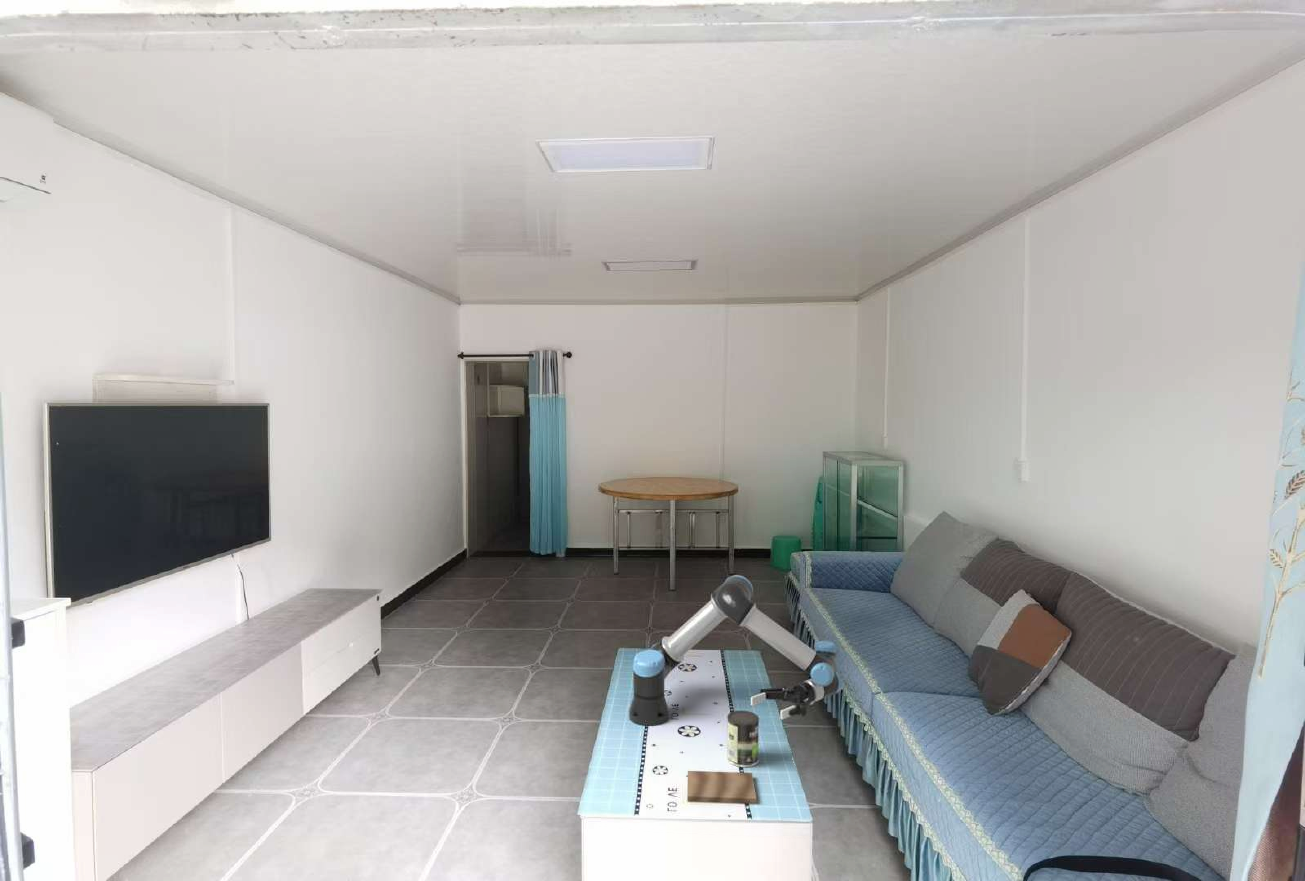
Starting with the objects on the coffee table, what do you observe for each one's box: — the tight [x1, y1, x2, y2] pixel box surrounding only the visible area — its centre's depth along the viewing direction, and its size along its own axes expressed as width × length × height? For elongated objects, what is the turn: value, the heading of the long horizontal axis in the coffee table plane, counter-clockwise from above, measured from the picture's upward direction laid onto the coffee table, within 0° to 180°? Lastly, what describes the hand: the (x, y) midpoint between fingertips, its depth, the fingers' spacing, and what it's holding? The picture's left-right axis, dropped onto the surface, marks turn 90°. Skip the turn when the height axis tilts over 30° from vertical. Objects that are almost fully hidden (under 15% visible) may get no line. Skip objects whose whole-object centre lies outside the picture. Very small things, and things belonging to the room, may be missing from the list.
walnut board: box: [686, 770, 757, 805], centre depth 196 cm, size 20×14×2 cm
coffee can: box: [726, 710, 760, 768], centre depth 213 cm, size 10×10×14 cm
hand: (766, 708), depth 219 cm, fingers open, 13 cm apart
